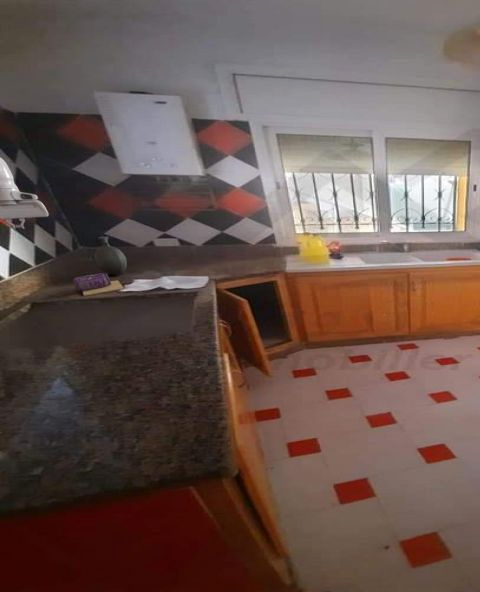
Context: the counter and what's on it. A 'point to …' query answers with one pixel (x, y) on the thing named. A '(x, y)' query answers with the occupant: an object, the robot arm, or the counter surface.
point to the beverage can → (91, 282)
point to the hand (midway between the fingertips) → (19, 229)
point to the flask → (110, 258)
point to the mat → (105, 288)
